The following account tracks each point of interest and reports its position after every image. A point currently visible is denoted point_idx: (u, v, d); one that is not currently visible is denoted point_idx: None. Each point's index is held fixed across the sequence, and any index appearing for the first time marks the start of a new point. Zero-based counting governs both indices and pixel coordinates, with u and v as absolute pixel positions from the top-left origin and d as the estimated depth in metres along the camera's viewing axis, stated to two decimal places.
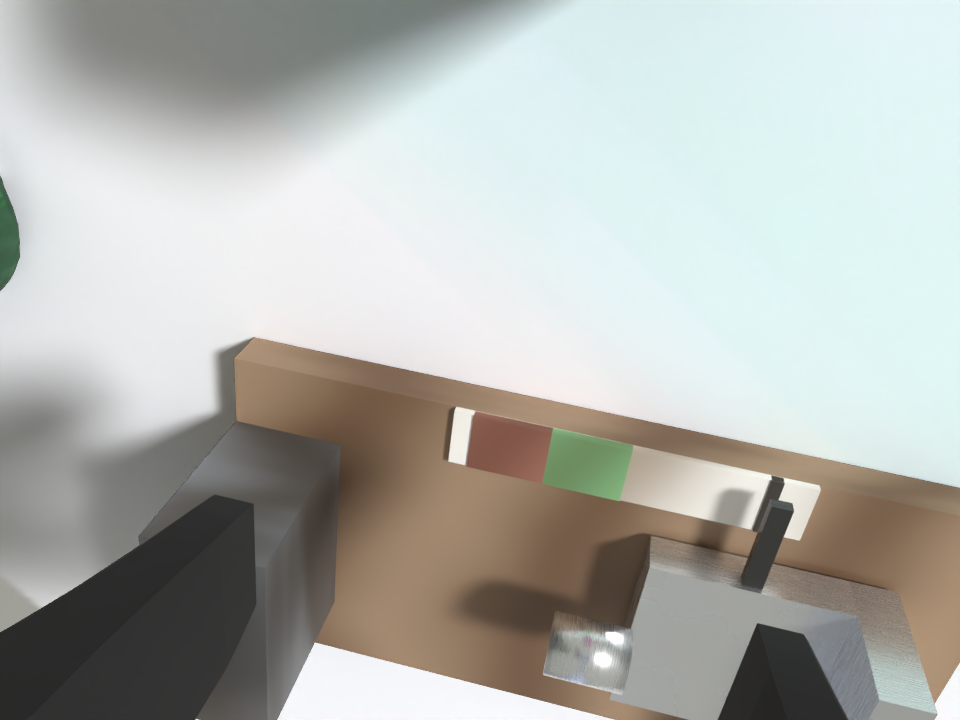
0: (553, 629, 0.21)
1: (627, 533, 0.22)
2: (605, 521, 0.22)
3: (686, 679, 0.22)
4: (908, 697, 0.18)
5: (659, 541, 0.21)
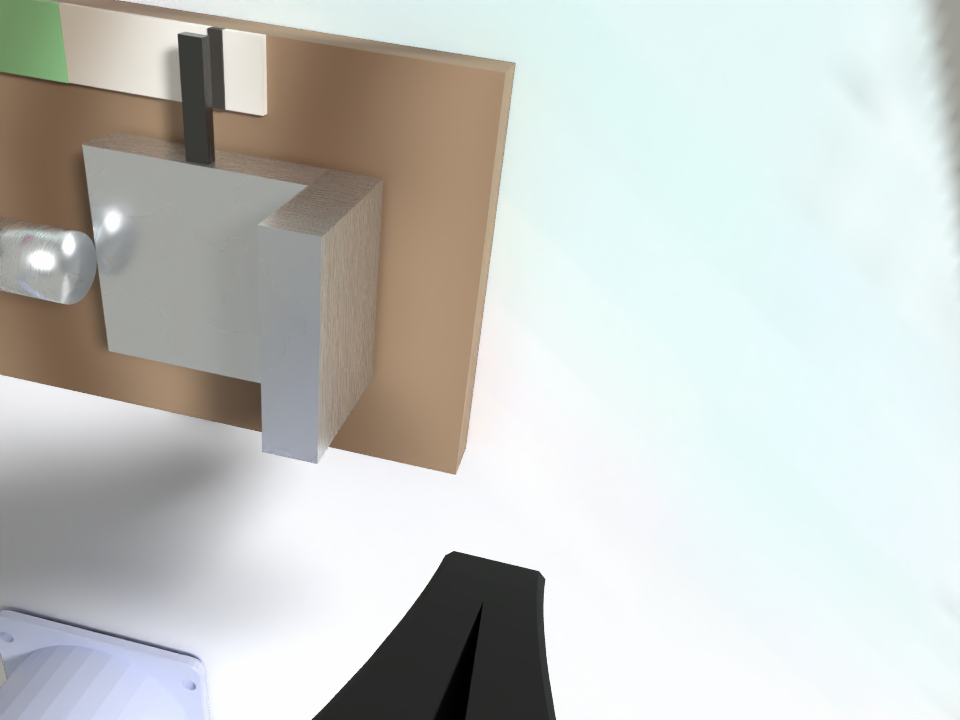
0: None
1: (99, 137, 0.19)
2: (72, 123, 0.19)
3: (172, 309, 0.19)
4: (298, 226, 0.15)
5: (121, 135, 0.18)
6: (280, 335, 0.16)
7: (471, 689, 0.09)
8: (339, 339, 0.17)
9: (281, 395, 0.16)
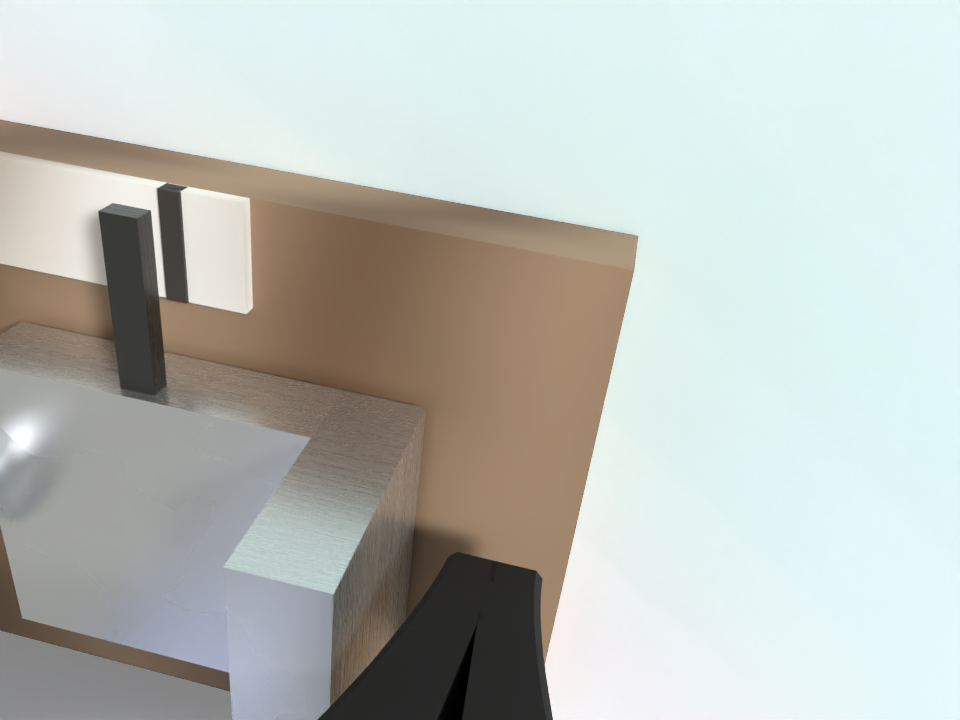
0: None
1: (3, 325, 0.13)
2: None
3: (109, 577, 0.13)
4: (294, 563, 0.09)
5: (28, 329, 0.12)
6: (264, 711, 0.10)
7: (468, 688, 0.09)
8: None
9: None
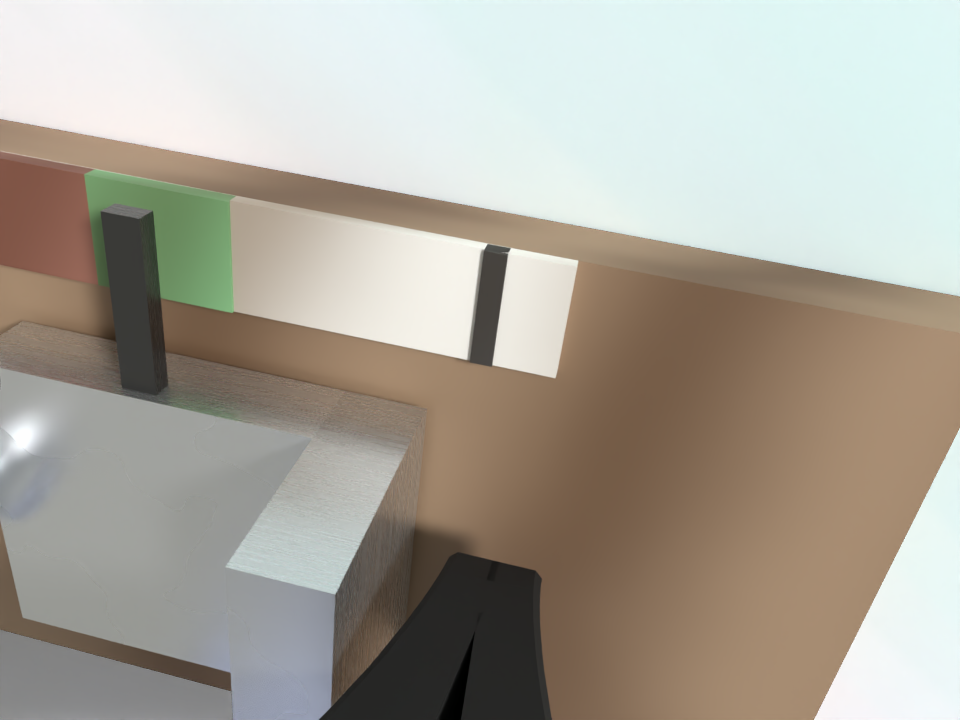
0: None
1: None
2: (230, 361, 0.12)
3: (110, 576, 0.13)
4: (295, 564, 0.09)
5: (30, 329, 0.12)
6: (265, 712, 0.10)
7: (467, 688, 0.09)
8: None
9: None
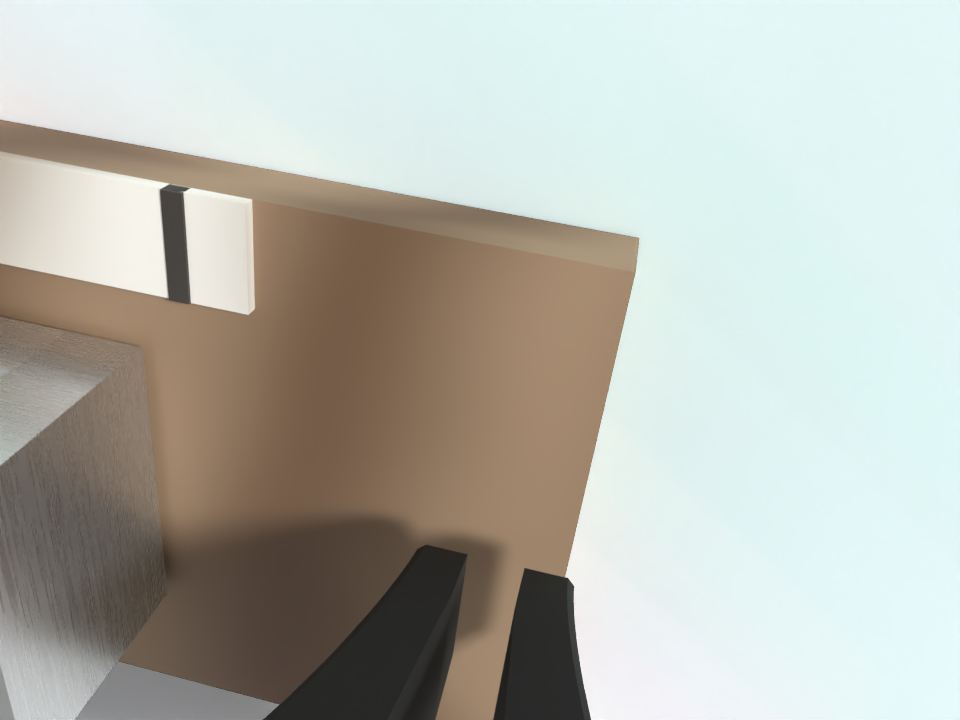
0: None
1: None
2: None
3: None
4: None
5: None
6: None
7: (507, 698, 0.09)
8: (57, 600, 0.11)
9: None
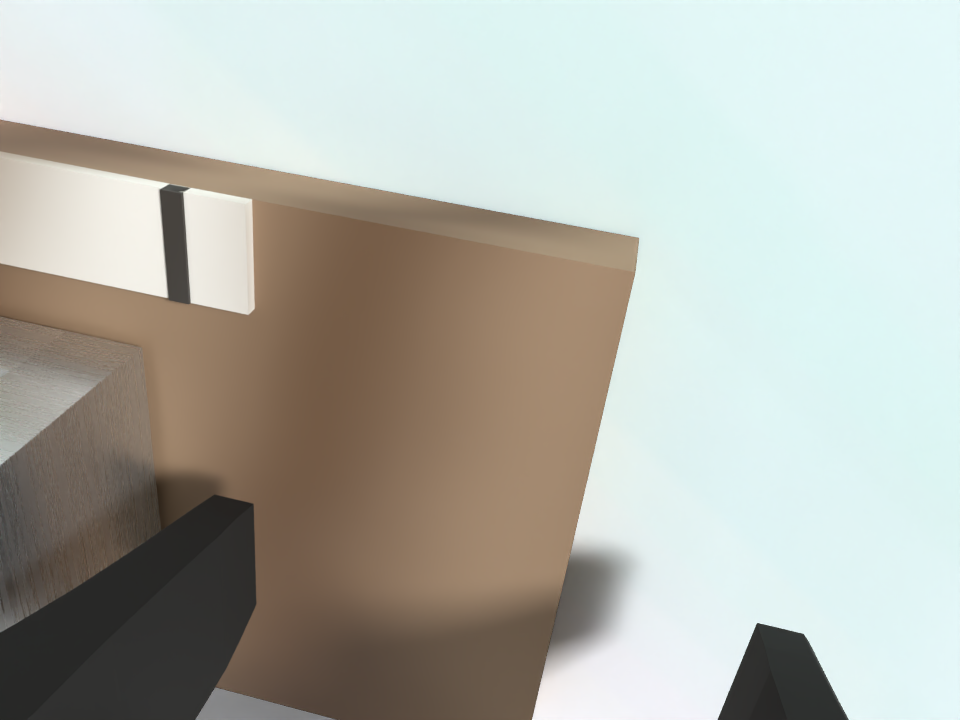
0: None
1: None
2: None
3: None
4: None
5: None
6: None
7: None
8: None
9: None
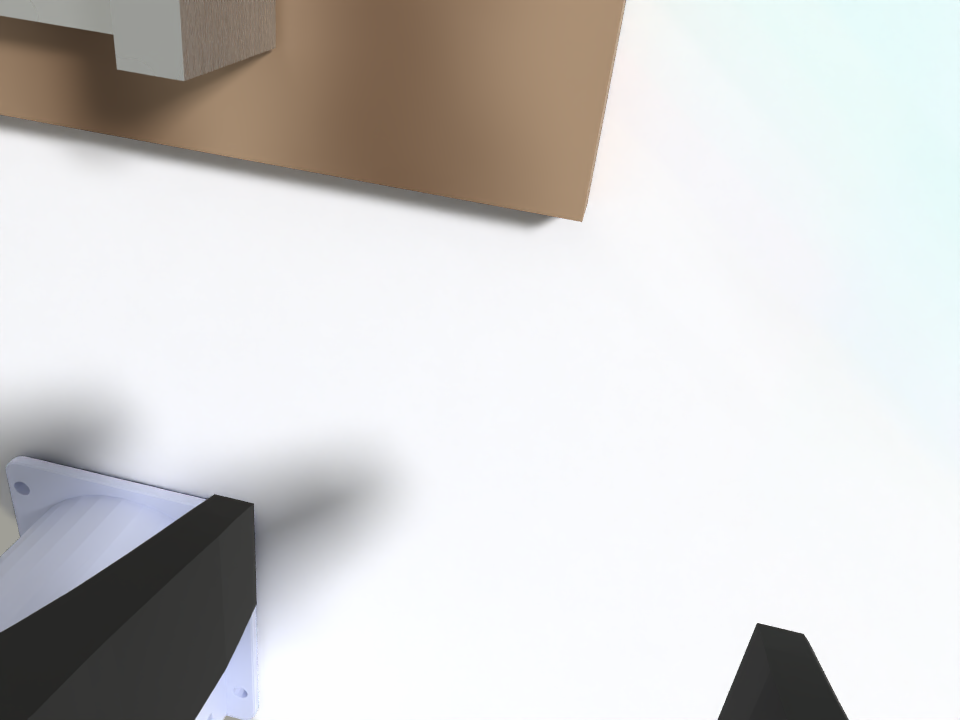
0: None
1: None
2: None
3: None
4: None
5: None
6: None
7: None
8: None
9: None
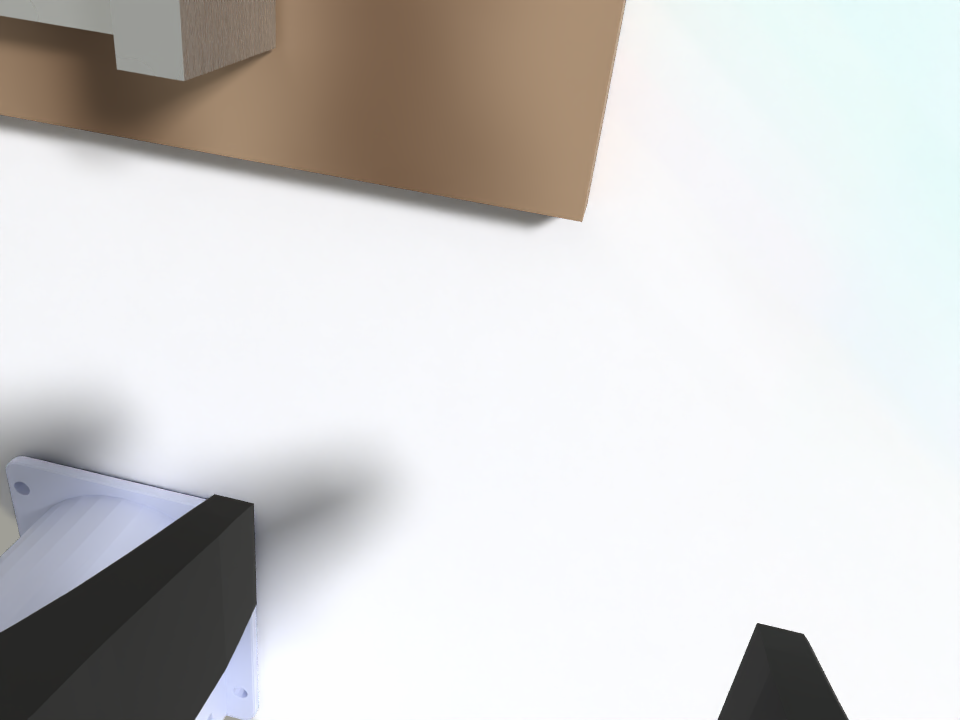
0: None
1: None
2: None
3: None
4: None
5: None
6: None
7: None
8: None
9: None
